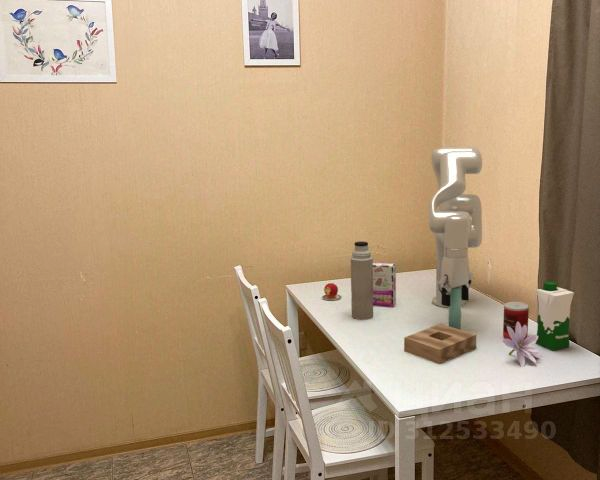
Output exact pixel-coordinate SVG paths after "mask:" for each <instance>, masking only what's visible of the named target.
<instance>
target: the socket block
mask: <svg viewBox="0 0 600 480" xmlns="http://www.w3.org/2000/svg"><path fill="white" fill-rule="evenodd" d="M403 341H404V343H403V347H404V348H403V351H404V352H406V353H409V354H412V355H415V356H418V357H420V358H423V359H425V360H428V361H431V362H434V363H437V364H442V363H445V362H447V361H449V360H452V359H454V358H457V357H458V356H461V355H464V354H466V353H468V352H470V351H473V350H475V349H477V334H476V333H473V332H469V331H466V330H462V329H461V330H460V329H456V328H453V327H450V326H448V325H447V324H443V323H440V324H437V325H434V326H431V327H428V328H425V329H424V330H421V331H418V332H414V333H413V334H410V335H407V336H404V338H403Z"/></svg>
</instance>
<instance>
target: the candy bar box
mask: <svg viewBox="0 0 600 480" xmlns="http://www.w3.org/2000/svg"><path fill="white" fill-rule="evenodd" d="M396 265H397V264H396V263H388V262H374V261H373V307H374V306H376V307H385V308H387V307H388V308H394V307H395V306H396V305H397V278H396V277H397V271H396V269H397V268H396V267H397V266H396Z"/></svg>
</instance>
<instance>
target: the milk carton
mask: <svg viewBox="0 0 600 480" xmlns="http://www.w3.org/2000/svg"><path fill="white" fill-rule="evenodd" d="M536 294H537V301H538V308H537V309H538V312H537V313H538V314H537V331H536V335H537V336H538V339H537V341H536V342H535V345H538V346H540V347H542V348H545V349H548V350H550V351H552V352H553V351H554V352H555V351H557V350H562V349H566V348H570V332H569V331H570V320H571V319H570V316H571V304H572V301H573V298H574V294H575V292H574V291H570V290H568V289H565V288H561V287H558V282H556V281H544V282H543V287H542V288H537V289H536Z"/></svg>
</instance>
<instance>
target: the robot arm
mask: <svg viewBox="0 0 600 480" xmlns="http://www.w3.org/2000/svg"><path fill="white" fill-rule="evenodd" d="M430 157H431V159H430V160H431V166H432V170H433V173H434V175H435V179H436V181H437V191H436V192H435V193H434V194H433V196H432V197H431V198H430V201H429V205H428V227H429V230H430V231H431V232H432V233H434V241H435V250H436V253H435V254H436V256H435V257H436V265H435V266H436V272H435V273H436V276H435V277H436V278H435V281H436V283H435V296H434V297H432V299H431V303H432V304H433V305H435V306H438V307H441V308H449V306H450V294H449V293H450V291H451V289H452V288H456V287H459V286H460V287H461V288H462V289H461V307H462V306H464V305H465V304H466V302H467V301H469V298H470V297H469V295H470V293H469V292H470V288H471V284H472V279H473V276H474V275H473V273H471V272H470V263H469V262H470V261H469V256H468V255H469V253H468V252H469V248H470V249H471V248H472V249H473V248H479V247H480V246H481V245H482V240H483V221H482V219H483V217H482V216H483V215H482V210H483V209H482V201H481V198H480V197H479V196H478V195H477V194H473V193H469V194H466V193H465V191H466V188H467V184H466V175H477V174H480V172H481V171H482V168H483V158H482V154H481V152H480V150H479V149H478V148H477V147H476V146H448V147H447V146H446V147H445V146H444V147H438V148H436V149H434V150H433V151H432V152H431V156H430ZM437 209H438V210H437Z"/></svg>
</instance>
